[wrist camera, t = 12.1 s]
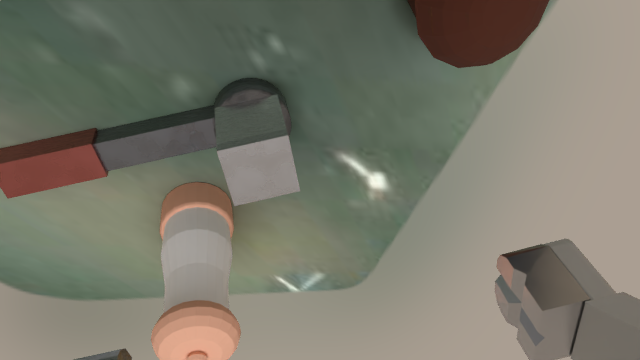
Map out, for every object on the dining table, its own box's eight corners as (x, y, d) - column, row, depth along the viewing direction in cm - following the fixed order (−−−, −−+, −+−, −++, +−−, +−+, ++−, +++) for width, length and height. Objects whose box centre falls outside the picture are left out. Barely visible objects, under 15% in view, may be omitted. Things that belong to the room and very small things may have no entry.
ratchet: (-14, 133, 46) (-38, 172, 41) (279, 70, 48) (288, 100, 43) (25, 194, 50) (7, 235, 46) (292, 134, 52) (302, 168, 47)
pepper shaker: (240, 225, 57) (254, 378, 42) (176, 242, 57) (167, 402, 42) (220, 174, 53) (228, 324, 38) (150, 192, 53) (131, 351, 38)
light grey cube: (214, 108, 45) (216, 151, 40) (277, 94, 46) (288, 135, 40) (230, 159, 49) (234, 206, 43) (288, 146, 49) (300, 190, 44)
